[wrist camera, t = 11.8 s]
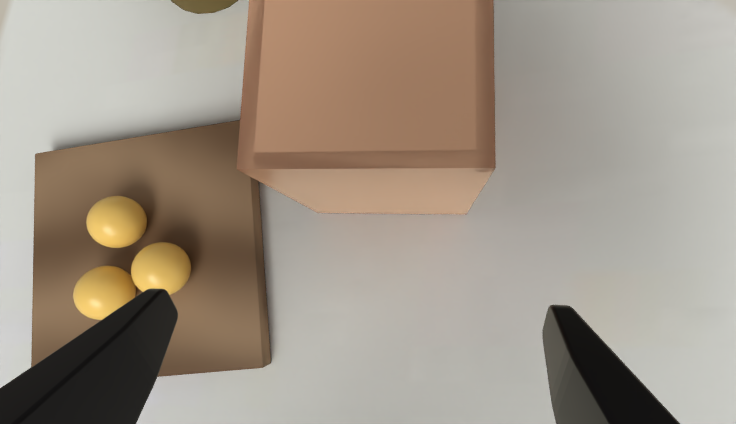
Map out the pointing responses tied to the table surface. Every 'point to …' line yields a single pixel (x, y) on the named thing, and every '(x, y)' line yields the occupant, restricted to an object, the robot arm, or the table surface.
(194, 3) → the olive pawn game piece
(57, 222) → the walnut pad
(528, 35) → the table surface
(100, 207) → the amber marbles
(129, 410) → the robot arm
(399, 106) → the tan upright cuboid
